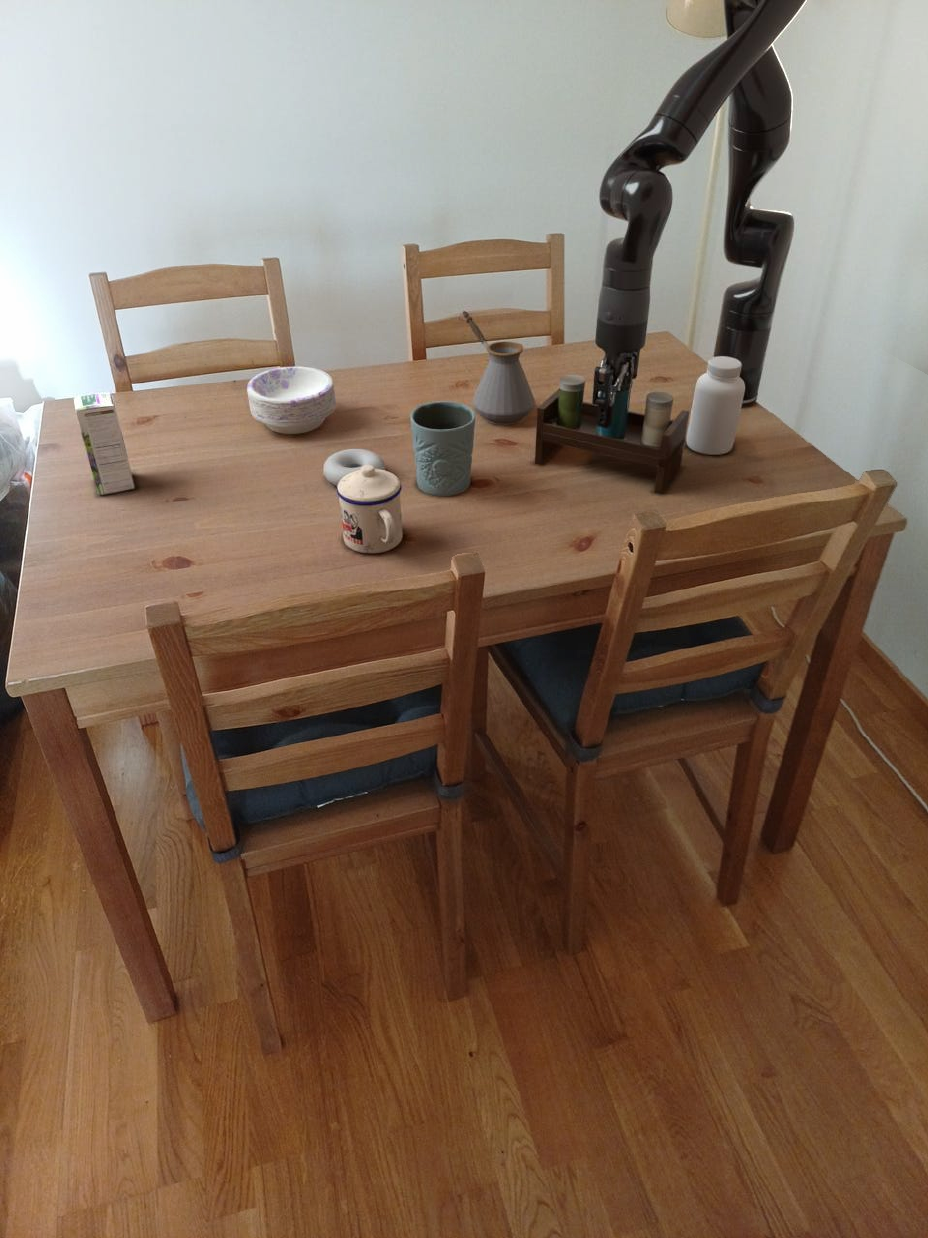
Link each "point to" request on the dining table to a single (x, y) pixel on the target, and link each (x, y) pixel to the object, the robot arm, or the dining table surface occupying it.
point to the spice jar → (619, 412)
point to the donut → (349, 463)
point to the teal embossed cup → (443, 446)
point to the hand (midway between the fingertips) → (612, 417)
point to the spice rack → (643, 442)
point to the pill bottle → (716, 407)
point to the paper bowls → (291, 398)
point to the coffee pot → (502, 383)
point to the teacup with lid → (370, 510)
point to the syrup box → (104, 442)
